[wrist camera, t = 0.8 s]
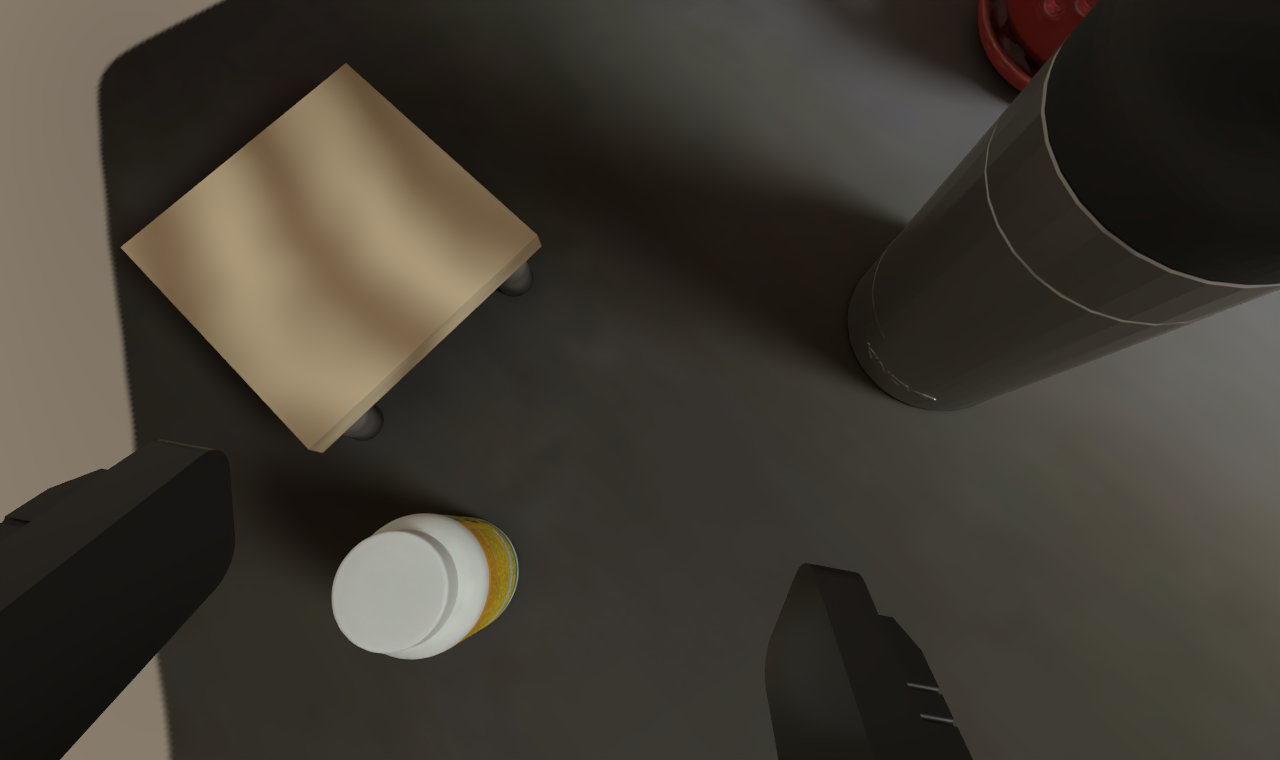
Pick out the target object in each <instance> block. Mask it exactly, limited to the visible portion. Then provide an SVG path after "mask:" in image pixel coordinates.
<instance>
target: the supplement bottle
mask: <svg viewBox="0 0 1280 760" xmlns="http://www.w3.org/2000/svg"><path fill="white" fill-rule="evenodd" d="M517 581H518V560H517V556H516V552H515V550H514V547H513V545H512V543H511V541H510V540H509V539H508V537H507V536H506V535H505V534H504V533H503V532H502V531H501V530H500V529H498V528H497V527H496V526H494V525H492V524H491V523H489V522H487V521H484V520H481V519H478V518H473V517H462V516H451V515H441V514H431V513H423V514H413V515H408V516H404V517H401V518H398V519H396V520H394V521H392V522H390V523H388V524H386V525H385V526H383V527H382V528H380V529H379V530H378V531H376V532H375V533H374V534H373V535H372V536H371V537H369V538H367V539H365V540H363V541H361V542H360V543H359V544H358V545H357V546H355V547H354V548H353V549H352V550H351V551H350V552H349V553H348V554H347V556H346V557H345V558H344V560H343V561H342V563H341V564H340V566H339V568H338V570H337V572H336V575H335V578H334V582H333V587H332V608H333V613H334V617H335V619H336V622H337V624H338V626H339V628H340V629H341V631H342V632H343V633H344V635H345V636H346V637H347V638H348V639H349V640H350V641H351V642H353V643H354V644H355V645H357V646H359V647H360V648H363V649H365V650H367V651H371V652H375V653H384V654H387V655H389V656H392V657H396V658H401V659H421V658H427V657H431V656H434V655H437V654H439V653H441V652H444V651H446V650H447V649H449V648H451V647H453V646H454V645H456V644H457V643H459V642H461V641H462V640H464V639H465V638H467V637H469V636H470V635H472V634H474V633H476V632H477V631H479V630H481V629H482V628H484V627H486V626H487V625H489V624H490V623H491V622H493V621H494V620H495V619H496V618H498V617H499V616H500V614H501V613H502V612H503V611H504V610H505V608H506V607H507V605H508V604H509V602H510V600H511V598H512V596H513V594H514V592H515V589H516V585H517Z"/></svg>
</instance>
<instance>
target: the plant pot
mask: <svg viewBox="0 0 1280 760" xmlns="http://www.w3.org/2000/svg"><path fill="white" fill-rule="evenodd" d="M1098 1H1099V0H979V4H978V29H979V33H980V38H981V42H982V44H983V47H984V49H985V51H986V54H987V56H988V58H989V59H990V61H991V63H992V64H993V66H994V67H995V68H996V70H997V71H998V72H999V73H1000V74H1001V75H1002V76H1003V77H1004V78H1005V79H1006V80H1007V81H1008V82H1009V83H1010V84H1011V85H1012V86H1014V87H1015V88H1016V89H1018V90H1019V91H1022V90H1023V88H1024V87H1025V86H1026V85H1027V84H1028V83H1029V81H1030V80H1031V79H1032V78H1033V77H1034V76H1035V74H1036V73H1037V72H1038V71H1039V70H1040V69H1041V67H1042V66H1043V65H1044V64H1045V63H1046V62H1047V60H1048V59H1049V58H1050V57H1051V56H1052V55H1053V53H1054V52H1055V51H1056V50H1057V49H1058V48H1059V46H1060V45H1061V44H1062V43H1063V42H1064V41H1065V39H1066V38H1067V37H1068V36H1069V35H1070V34H1071V32H1072V31H1073V30H1074V29H1075V28H1076V26H1077V25H1078V24H1079V23H1080V22H1081V21H1082V19H1083V18H1084V17H1085V16H1086V15H1087V13H1088V12H1089V11H1090V10H1091V9H1092V8H1093V6H1094V5H1095V4H1096V3H1097V2H1098Z"/></svg>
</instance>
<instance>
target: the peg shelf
mask: <svg viewBox="0 0 1280 760" xmlns="http://www.w3.org/2000/svg"><path fill="white" fill-rule="evenodd" d="M540 247H541V244H540V241H539V238H538V235H537V234H536V233H534V232H533V231H532V230H531V229H530V228H529V227H528V226H527V225H526V224H524V223H523V222H522V221H521V220H520V219H519V218H518V217H517V216H516V215H514V214H513V213H512V212H511V211H510V210H509V209H508V208H507V207H506V206H504V205H503V204H502V203H501V202H500V201H499V200H498V199H497V198H496V197H494V196H493V195H492V194H491V193H490V192H489V191H488V190H487V189H485V188H484V187H483V186H482V185H481V184H480V183H479V182H478V181H477V180H475V179H474V178H473V177H472V176H471V175H470V174H469V173H468V172H467V171H465V170H464V169H463V168H462V167H461V166H460V165H459V164H458V163H457V162H455V161H454V160H453V159H452V158H451V157H450V156H449V155H448V154H447V153H445V152H444V151H443V150H442V149H441V148H440V147H439V146H438V145H437V144H435V143H434V142H433V141H432V140H431V139H430V138H429V137H428V136H427V135H425V134H424V133H423V132H422V131H421V130H420V129H419V128H418V127H417V126H415V125H414V124H413V123H412V122H411V121H410V120H409V119H408V118H407V117H405V116H404V115H403V114H402V113H401V112H400V111H399V110H398V109H396V108H395V107H394V106H393V105H392V104H391V103H390V102H389V101H388V100H386V99H385V98H384V97H383V96H382V95H381V94H380V93H379V92H378V91H376V90H375V89H374V88H373V87H372V86H371V85H370V84H369V83H368V82H366V81H365V80H364V79H363V78H362V77H361V76H360V75H359V74H358V73H356V72H355V71H354V70H353V69H352V68H351V67H350V66H349V65H348V64H344V65H343V66H342V67H341V68H339V69H338V70H337V71H336V72H334V73H333V74H332V75H331V76H330V77H328V78H327V79H326V80H325V81H323V82H322V83H321V84H320V85H319V86H317V87H316V88H315V89H314V90H312V91H311V92H310V93H309V94H308V95H306V96H305V97H304V98H303V99H301V100H300V101H299V102H298V103H297V104H295V105H294V106H293V107H292V108H290V109H289V110H288V111H287V112H286V113H284V114H283V115H282V116H281V117H279V118H278V119H277V120H276V121H275V122H273V123H272V124H271V125H270V126H268V127H267V128H266V129H265V130H264V131H262V132H261V133H260V134H259V135H257V136H256V137H255V138H254V139H253V140H251V141H250V142H249V143H248V144H246V145H245V146H244V147H243V148H242V149H240V150H239V151H238V152H237V153H235V154H234V155H233V156H232V157H231V158H229V159H228V160H227V161H226V162H224V163H223V164H222V165H221V166H220V167H218V168H217V169H216V170H215V171H213V172H212V173H211V174H210V175H209V176H207V177H206V178H205V179H204V180H202V181H201V182H200V183H199V184H198V185H196V186H195V187H194V188H193V189H191V190H190V191H189V192H188V193H187V194H185V195H184V196H183V197H182V198H180V199H179V200H178V201H177V202H176V203H174V204H173V205H172V206H171V207H169V208H168V209H167V210H166V211H165V212H163V213H162V214H161V215H160V216H158V217H157V218H156V219H155V220H154V221H152V222H151V223H150V224H149V225H147V226H146V227H145V228H144V229H142V230H141V231H140V232H139V233H138V234H136V235H135V236H134V237H133V238H131V239H130V240H129V241H128V242H127V243H125V244H124V245H123V246H122V247H121V248H122V249H123V251H124V252H125V253H126V254H127V255H128V256H129V257H130V258H131V259H132V260H133V261H134V262H135V263H136V265H137V266H138V267H139V268H140V269H141V270H142V271H143V272H144V273H145V274H146V275H147V276H148V277H149V278H150V280H151V281H152V282H153V283H154V284H155V285H156V286H157V287H158V288H159V289H160V290H161V291H162V292H163V294H164V295H165V296H166V297H167V298H168V299H169V300H170V301H171V302H172V303H173V304H174V305H175V306H176V307H177V309H178V310H179V311H180V312H181V313H182V314H183V315H184V316H185V317H186V318H187V319H188V320H189V321H190V323H191V324H192V325H193V326H194V327H195V328H196V329H197V330H198V331H199V332H200V333H201V334H202V335H203V336H204V338H205V339H206V340H207V341H208V342H209V343H210V344H211V345H212V346H213V347H214V348H215V349H216V350H217V351H218V353H219V354H220V355H221V356H222V357H223V358H224V359H225V360H226V361H227V362H228V363H229V364H230V365H231V367H232V368H233V369H234V370H235V371H236V372H237V373H238V374H239V375H240V376H241V377H242V378H243V379H244V380H245V382H246V383H247V384H248V385H249V386H250V387H251V388H252V389H253V390H254V391H255V392H256V393H257V394H258V396H259V397H260V398H261V399H262V400H263V401H264V402H265V403H266V404H267V405H268V406H269V407H270V408H271V409H272V411H273V412H274V413H275V414H276V415H277V416H278V417H279V418H280V419H281V420H282V421H283V422H284V423H285V425H286V426H287V427H288V428H289V429H290V430H291V431H292V432H293V433H294V434H295V435H296V436H297V437H298V438H299V440H300V441H301V442H302V443H303V444H304V445H305V446H306V447H307V448H308V449H309V450H313V451H317V452H321V453H323V452H324V451H325V450H326V449H327V448H328V447H329V446H330V445H332V444H333V443H334V442H335V441H336V440H337V439H338V438H339V437H340V436H341V435H343V436H347V437H350V438H353V439H356V440H360V441H364V440H369V439H371V438H373V437H375V436H376V435H377V434H378V433H379V432H380V430H381V428H382V426H383V414H382V412H381V410H380V409H379V408H378V407H377V406H375V405H374V404H375V403H376V402H377V401H378V400H379V399H380V398H381V397H382V396H383V395H385V394H386V393H387V392H388V391H389V390H390V389H391V388H392V387H393V386H394V385H395V384H396V383H397V382H398V381H399V380H400V379H401V378H403V377H404V376H405V375H406V374H407V373H408V372H409V371H410V370H411V369H412V368H413V367H414V366H415V365H416V364H417V363H418V362H419V361H421V360H422V359H423V358H424V357H425V356H426V355H427V354H428V353H429V352H430V351H431V350H432V349H433V348H434V347H435V346H436V345H438V344H439V343H440V342H441V341H442V340H443V339H444V338H445V337H446V336H447V335H448V334H449V333H450V332H451V331H452V330H453V329H454V328H456V327H457V326H458V325H459V324H460V323H461V322H462V321H463V320H464V319H465V318H466V317H467V316H468V315H469V314H470V313H471V312H472V311H474V310H475V309H476V308H477V307H478V306H479V305H480V304H481V303H482V302H483V301H484V300H485V299H486V298H487V297H488V296H489V295H490V294H492V293H493V292H494V291H495V290H496V289H497V288H498V287H499V289H500V290H501V291H502V292H503V293H505V294H506V295H509V296H519V295H522V294H524V293H526V292H527V291H528V290H529V289H530V287H531V285H532V282H533V275H532V272H531V270H530V267H529V265H528V263H527V260H528V259H529V258H530V257H531V256H532V255H533V254H534V253H535V252H536V251H537V250H538V249H539V248H540Z"/></svg>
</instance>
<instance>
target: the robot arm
mask: <svg viewBox="0 0 1280 760" xmlns="http://www.w3.org/2000/svg"><path fill="white" fill-rule="evenodd" d="M1279 289H1280V0H1099V1H1098V2H1097V3H1096V4H1095V5H1094V6H1093V8H1092V9H1091V10H1090V11H1089V12H1088V13H1087V15H1086V16H1085V17H1084V18H1083V19H1082V21H1081V22H1080V23H1079V24H1078V25H1077V26H1076V28H1075V29H1074V30H1073V31H1072V32H1071V34H1070V35H1069V36H1068V37H1067V38H1066V39H1065V41H1064V42H1063V43H1062V44H1061V45H1060V46H1059V48H1058V49H1057V50H1056V51H1055V52H1054V53H1053V55H1052V56H1051V57H1050V58H1049V59H1048V60H1047V62H1046V63H1045V64H1044V65H1043V66H1042V67H1041V69H1040V70H1039V71H1038V72H1037V73H1036V74H1035V76H1034V77H1033V78H1032V79H1031V80H1030V81H1029V83H1028V84H1027V85H1026V86H1025V87H1024V88H1023V90H1022V91H1021V92H1020V93H1019V94H1018V95H1017V97H1016V98H1015V99H1014V100H1013V101H1012V103H1011V104H1010V106H1009V107H1008V108H1007V109H1006V110H1005V111H1004V113H1003V114H1002V115H1001V116H1000V117H999V118H998V120H997V121H996V122H995V123H994V124H993V125H992V127H991V128H990V129H989V130H988V131H987V132H986V133H985V135H984V136H983V137H982V138H981V139H980V140H979V142H978V143H977V144H976V145H975V146H974V147H973V149H972V150H971V151H970V152H969V153H968V154H967V156H966V157H965V158H964V159H963V160H962V161H961V163H960V164H959V165H958V166H957V167H956V168H955V170H954V171H953V172H952V173H951V174H950V175H949V177H948V178H947V179H946V180H945V181H944V182H943V184H942V185H941V186H940V187H939V188H938V189H937V191H936V192H935V193H934V194H933V195H932V196H931V198H930V199H929V200H928V201H927V202H926V203H925V205H924V206H923V207H922V208H921V209H920V210H919V212H918V213H917V214H916V215H915V216H914V217H913V219H912V220H911V221H910V222H909V223H908V224H907V226H906V227H905V228H904V229H903V230H902V231H901V233H900V234H899V235H898V236H897V237H896V238H895V239H894V240H893V242H892V243H891V244H890V245H889V246H888V247H887V249H886V250H885V251H884V252H883V253H882V254H881V256H880V257H879V258H878V259H877V260H876V261H875V263H874V264H873V265H872V266H871V267H870V268H869V270H868V271H867V272H866V273H865V274H864V275H863V277H862V278H861V279H860V281H859V283H858V285H857V286H856V288H855V290H854V292H853V294H852V298H851V301H850V304H849V308H848V323H847V325H848V332H849V338H850V343H851V345H852V348H853V351H854V353H855V356H856V358H857V360H858V361H859V363H860V365H861V366H862V368H863V369H864V371H865V372H866V374H867V375H868V376H869V377H870V378H871V379H872V380H873V381H874V382H875V383H876V384H877V385H878V386H879V387H880V388H881V389H883V390H884V391H885V392H887V393H888V394H890V395H891V396H893V397H894V398H896V399H898V400H900V401H902V402H905V403H907V404H909V405H911V406H914V407H919V408H923V409H928V410H936V411H952V410H957V409H962V408H967V407H970V406H973V405H976V404H978V403H981V402H984V401H986V400H989V399H992V398H994V397H997V396H999V395H1002V394H1005V393H1007V392H1011V391H1014V390H1016V389H1019V388H1022V387H1024V386H1027V385H1030V384H1032V383H1035V382H1038V381H1040V380H1043V379H1045V378H1048V377H1051V376H1053V375H1056V374H1059V373H1061V372H1064V371H1067V370H1069V369H1072V368H1075V367H1077V366H1080V365H1082V364H1085V363H1088V362H1090V361H1093V360H1096V359H1098V358H1101V357H1104V356H1106V355H1109V354H1112V353H1114V352H1117V351H1119V350H1122V349H1125V348H1127V347H1130V346H1133V345H1135V344H1138V343H1141V342H1143V341H1146V340H1149V339H1151V338H1154V337H1156V336H1159V335H1162V334H1164V333H1167V332H1170V331H1172V330H1175V329H1178V328H1180V327H1183V326H1186V325H1188V324H1191V323H1193V322H1196V321H1199V320H1201V319H1204V318H1207V317H1209V316H1212V315H1215V314H1216V313H1219V312H1221V311H1224V310H1226V309H1229V308H1232V307H1234V306H1237V305H1240V304H1242V303H1245V302H1248V301H1250V300H1253V299H1255V298H1258V297H1261V296H1263V295H1266V294H1269V293H1271V292H1274V291H1277V290H1279ZM234 548H235V532H234V519H233V506H232V493H231V480H230V468H229V462H228V459H227V457H226V455H225V454H224V453H223V452H222V451H219V450H215V449H210V448H204V447H199V446H194V445H189V444H183V443H178V442H173V441H167V440H161V439H160V440H154V441H152V442H149V443H148V444H146V445H144V446H143V447H141V448H140V449H138V450H137V451H135V452H134V453H132V454H131V455H129V456H128V457H126V458H125V459H123V460H122V461H121V462H119V463H118V464H116V465H114V466H113V467H111V468H110V469H108V470H105V469H99V470H97V471H94V472H91V473H89V474H86V475H84V476H81V477H78V478H76V479H73V480H70V481H68V482H65V483H62V484H60V485H57V486H54V487H52V488H49V489H47V490H46V491H44V492H43V493H41V494H39V495H38V496H36V497H35V498H33V499H32V500H30V501H28V502H27V503H25V504H24V505H22V506H21V507H19V508H17V509H16V510H14V511H13V512H11V513H10V514H8V515H7V516H5V519H4V521H3V522H2V523H0V760H60V759H61V758H62V757H63V756H64V755H65V754H66V752H67V751H68V750H69V749H70V748H71V747H72V746H73V745H74V744H75V742H76V741H77V740H78V739H79V738H80V737H81V736H82V735H83V734H84V733H85V732H86V731H87V729H88V728H89V727H90V726H91V725H92V724H93V723H94V722H95V721H96V719H97V718H98V717H99V716H100V715H101V714H102V713H103V711H105V710H106V708H107V707H108V706H109V705H110V704H111V703H112V702H113V701H114V700H115V699H116V697H117V696H118V695H119V694H120V693H121V692H122V691H123V690H124V689H125V688H126V686H127V685H128V684H129V683H130V682H131V681H132V680H133V679H134V678H135V677H136V676H137V674H138V673H139V672H140V671H141V670H142V669H143V668H144V667H145V666H146V664H148V662H149V661H150V660H151V659H152V658H153V657H154V656H155V655H156V654H157V653H158V651H159V650H160V649H161V648H162V647H163V646H164V645H165V644H166V643H167V642H168V640H169V639H170V638H171V637H172V636H173V635H174V634H175V633H176V632H177V631H178V629H179V628H180V627H181V626H182V625H183V624H184V623H185V622H186V621H187V620H188V618H189V617H190V616H191V615H192V614H193V613H194V612H195V611H196V610H197V609H198V607H199V606H200V605H201V604H202V603H203V602H204V601H205V600H206V599H207V598H208V597H209V595H210V594H211V593H212V592H213V591H214V590H215V589H216V588H217V586H218V585H219V584H220V582H221V581H222V579H223V578H224V576H225V574H226V572H227V570H228V568H229V566H230V563H231V560H232V557H233V553H234ZM765 685H766V691H767V697H768V703H769V708H770V714H771V720H772V726H773V731H774V737H775V743H776V748H777V754H778V760H973V759H972V757H971V755H970V753H969V751H968V748H967V746H966V744H965V742H964V740H963V738H962V736H961V734H960V731H959V729H958V727H955V726H953V717H952V714H951V712H950V710H949V708H948V706H947V704H946V702H945V700H944V697H943V695H941V694H939V693H938V688H939V687H938V685H937V682H936V680H935V678H934V676H933V674H932V672H931V670H930V668H929V665H928V663H927V661H926V659H925V657H924V655H923V653H922V651H921V649H920V648H919V647H918V646H917V645H916V644H915V643H914V641H913V640H912V639H911V638H910V637H909V636H908V634H907V633H906V632H905V631H904V630H903V629H902V628H901V626H900V625H899V624H898V623H897V622H896V621H895V620H894V618H893V617H887V616H882V615H878V613H877V610H876V608H875V606H874V603H873V601H872V598H871V596H870V594H869V591H868V589H867V586H866V584H865V582H864V580H863V578H862V577H861V575H860V574H858V573H856V572H851V571H846V570H840V569H835V568H830V567H825V566H819V565H814V564H809V563H804V564H803V565H801V567H800V568H799V569H798V571H797V573H796V575H795V578H794V580H793V583H792V585H791V588H790V590H789V593H788V595H787V598H786V600H785V603H784V605H783V608H782V610H781V613H780V615H779V618H778V620H777V623H776V625H775V628H774V630H773V633H772V635H771V638H770V641H769V644H768V648H767V653H766V661H765Z"/></svg>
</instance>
